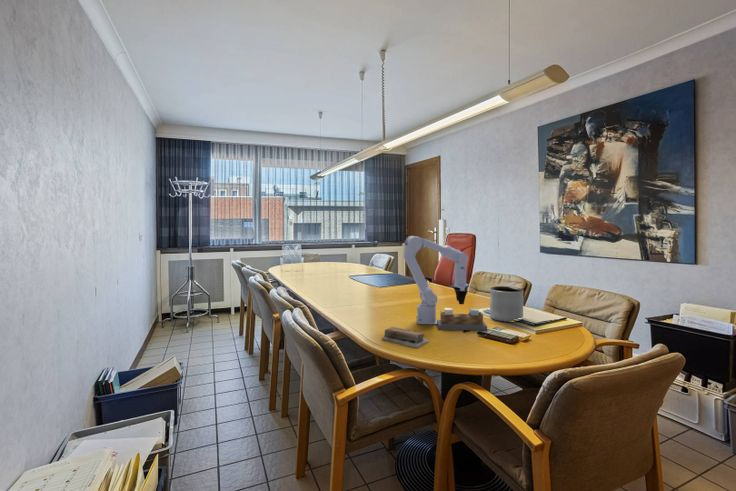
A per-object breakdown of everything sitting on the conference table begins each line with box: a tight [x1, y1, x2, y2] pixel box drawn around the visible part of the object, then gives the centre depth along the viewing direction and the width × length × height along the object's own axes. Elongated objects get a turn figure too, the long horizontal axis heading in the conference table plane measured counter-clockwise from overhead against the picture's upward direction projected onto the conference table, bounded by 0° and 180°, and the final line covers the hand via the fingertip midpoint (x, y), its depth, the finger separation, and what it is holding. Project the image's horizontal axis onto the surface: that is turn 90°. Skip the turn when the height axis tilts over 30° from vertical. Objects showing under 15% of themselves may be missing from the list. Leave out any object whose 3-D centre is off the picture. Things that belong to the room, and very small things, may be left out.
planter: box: [489, 285, 524, 323], centre depth 189 cm, size 16×16×16 cm
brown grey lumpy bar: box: [439, 310, 484, 325], centre depth 175 cm, size 19×6×5 cm, turn 84°
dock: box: [436, 318, 488, 331], centre depth 175 cm, size 22×10×2 cm, turn 84°
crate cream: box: [443, 307, 454, 315], centre depth 176 cm, size 4×4×3 cm
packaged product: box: [381, 326, 430, 349], centre depth 156 cm, size 18×5×10 cm
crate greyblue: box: [469, 307, 480, 315], centre depth 174 cm, size 4×4×3 cm
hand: (460, 302), depth 185 cm, fingers open, 7 cm apart
